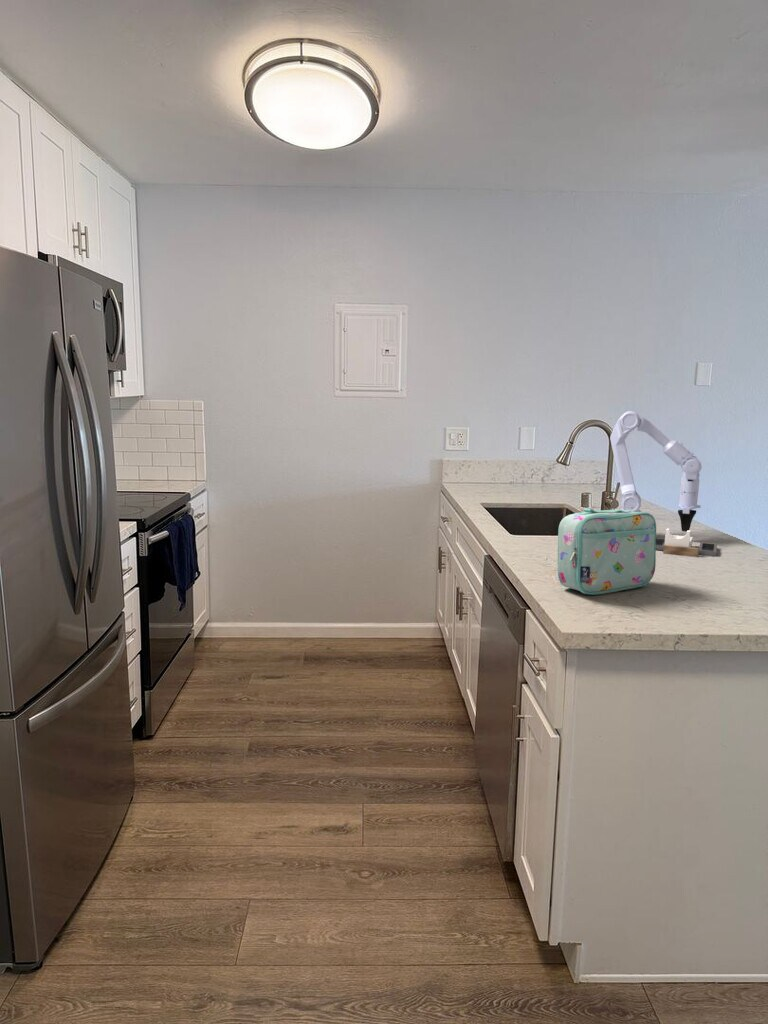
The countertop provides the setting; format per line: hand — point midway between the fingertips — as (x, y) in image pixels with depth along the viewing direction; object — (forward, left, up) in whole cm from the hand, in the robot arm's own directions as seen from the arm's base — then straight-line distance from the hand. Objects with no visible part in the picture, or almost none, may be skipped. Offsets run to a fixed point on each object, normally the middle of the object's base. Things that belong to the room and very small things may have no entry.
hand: (685, 531), depth 229 cm
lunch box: (-15, -71, -4) cm, 73 cm away
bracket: (-1, -14, -4) cm, 14 cm away
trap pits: (0, -13, -4) cm, 13 cm away
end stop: (0, -21, -4) cm, 22 cm away
